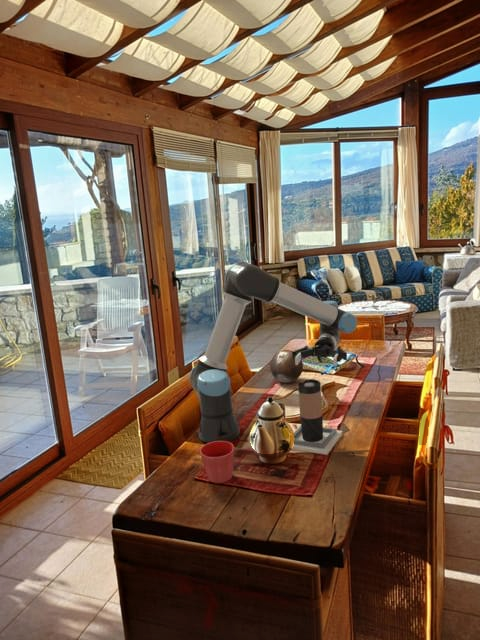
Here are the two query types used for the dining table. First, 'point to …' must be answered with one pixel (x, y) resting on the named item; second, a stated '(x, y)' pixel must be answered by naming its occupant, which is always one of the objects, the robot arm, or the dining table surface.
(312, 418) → the travel mug
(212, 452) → the flower pot
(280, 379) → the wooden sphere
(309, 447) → the mug stand
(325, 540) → the dining table surface
